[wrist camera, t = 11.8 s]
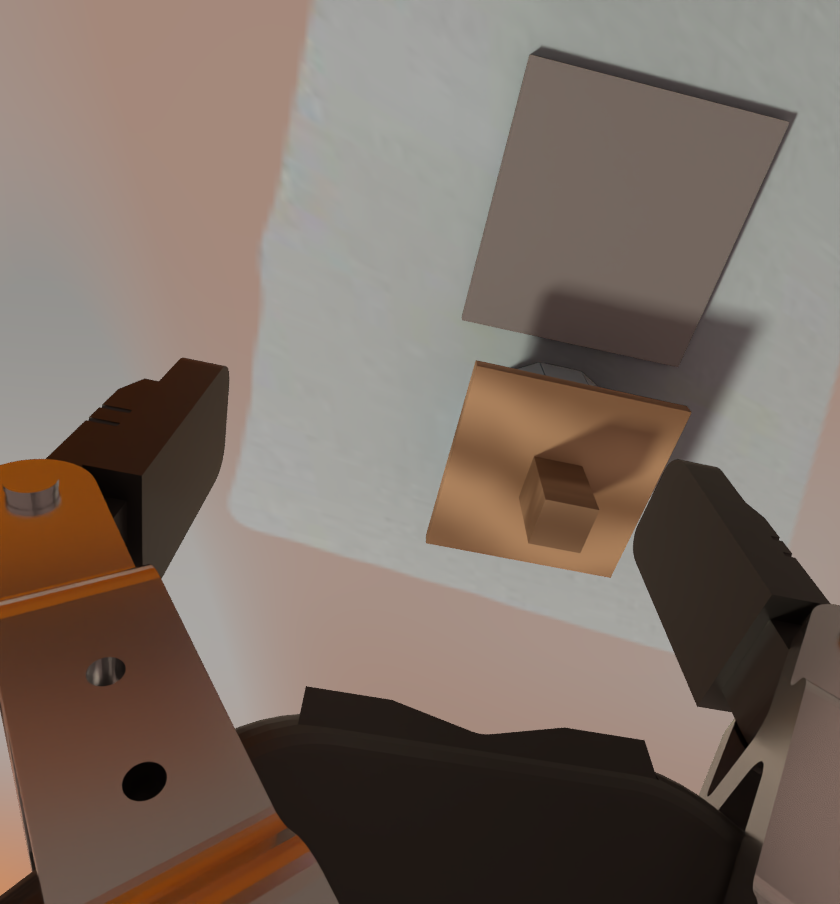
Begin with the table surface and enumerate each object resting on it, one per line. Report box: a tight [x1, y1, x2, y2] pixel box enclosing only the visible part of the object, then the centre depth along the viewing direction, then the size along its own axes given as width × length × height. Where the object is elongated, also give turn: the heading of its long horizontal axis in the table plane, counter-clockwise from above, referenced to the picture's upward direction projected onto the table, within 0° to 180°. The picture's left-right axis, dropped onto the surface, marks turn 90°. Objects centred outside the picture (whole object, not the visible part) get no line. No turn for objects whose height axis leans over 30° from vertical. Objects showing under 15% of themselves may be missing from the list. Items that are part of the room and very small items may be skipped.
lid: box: [426, 360, 692, 578], centre depth 36 cm, size 12×12×5 cm
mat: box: [462, 55, 790, 367], centre depth 36 cm, size 14×14×1 cm
